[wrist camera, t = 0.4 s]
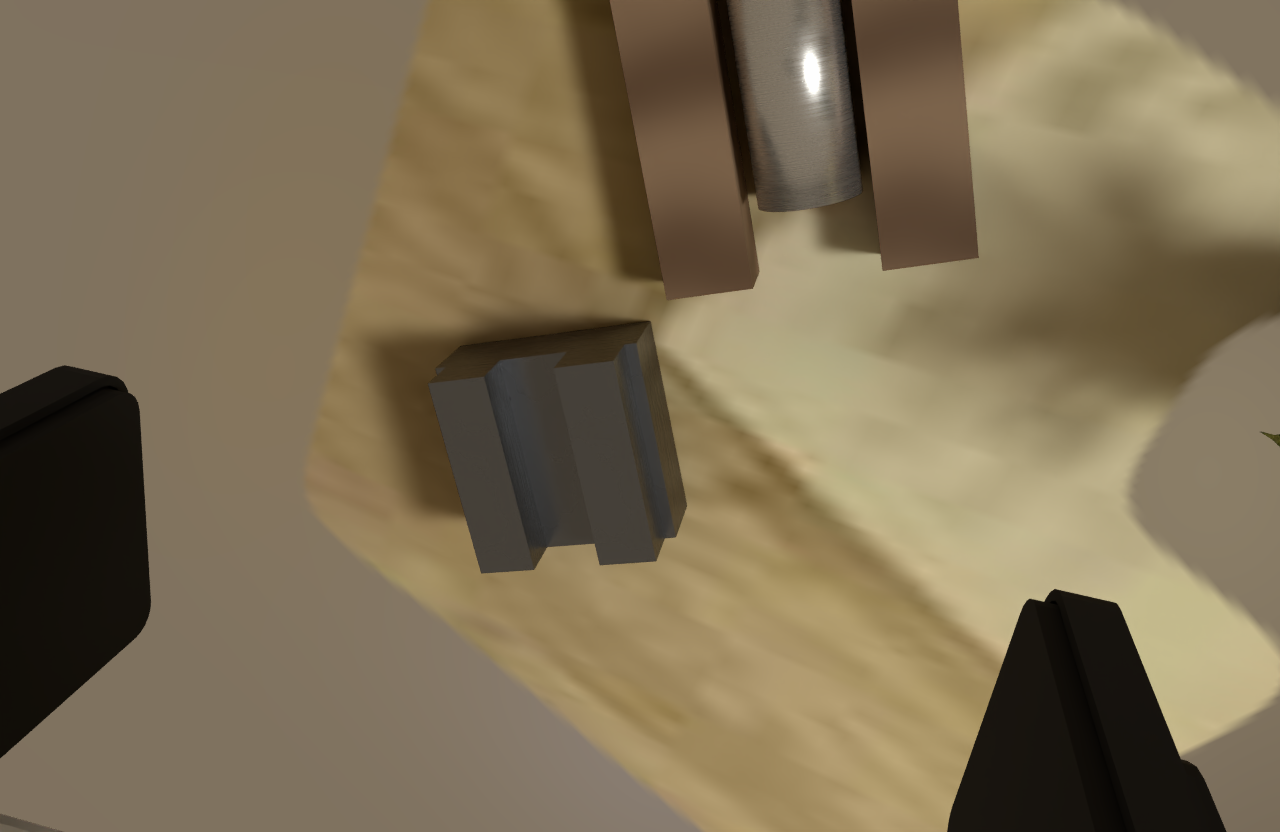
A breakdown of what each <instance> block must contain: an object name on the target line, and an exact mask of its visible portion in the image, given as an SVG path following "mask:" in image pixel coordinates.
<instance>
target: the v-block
mask: <svg viewBox="0 0 1280 832" xmlns="http://www.w3.org/2000/svg"><path fill="white" fill-rule="evenodd" d="M435 369H436V373H437V376H436V377H435V378H433V379H432V380H431V381H430V382H429V383H428V386H429V389H430V393H431V397H432V400H433V404H434V407H435V411H436V414H437V418H438V421H439V425H440V429H441V432H442V436H443V439H444V443H445V446H446V450H447V453H448V457H449V461H450V464H451V468H452V471H453V475H454V478H455V482H456V485H457V489H458V493H459V496H460V500H461V503H462V507H463V510H464V514H465V517H466V521H467V525H468V528H469V532H470V535H471V539H472V542H473V546H474V549H475V553H476V556H477V560H478V564H479V567H480V571H481V573H495V572H509V571H523V570H534V569H535V568H536V566H537V564H538V562H539V561H540V559H541V557H542V555H543V554H544V552H545V550H546V548H547V547H554V546H568V545H581V544H594V543H595V547H596V551H597V555H598V560H599V564H600V565H610V564H624V563H639V562H653V561H657V558H658V555H659V553H660V550H661V547H662V544H663V542H664V539H665V538H674V537H676V536H677V533H678V530H679V527H680V524H681V521H682V519H683V516H684V513H685V510H686V507H687V503H686V498H685V493H684V488H683V483H682V478H681V473H680V468H679V463H678V458H677V453H676V448H675V443H674V438H673V433H672V428H671V422H670V417H669V412H668V407H667V402H666V397H665V392H664V387H663V382H662V377H661V372H660V367H659V362H658V357H657V352H656V347H655V342H654V337H653V331H652V326H651V321H648V322H640V323H633V324H625V325H618V326H610V327H602V328H595V329H587V330H580V331H572V332H564V333H557V334H549V335H542V336H534V337H527V338H519V339H511V340H504V341H496V342H489V343H481V344H473V345H466V346H460V347H459V348H458V349H457V350H455V351H454V352H453V353H452V354H451V355H450V356H449V357H448V358H447V359H445V360H444V361H443V362H442V363H441V364H440V365H439V366H438V367H436V368H435Z"/></svg>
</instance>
